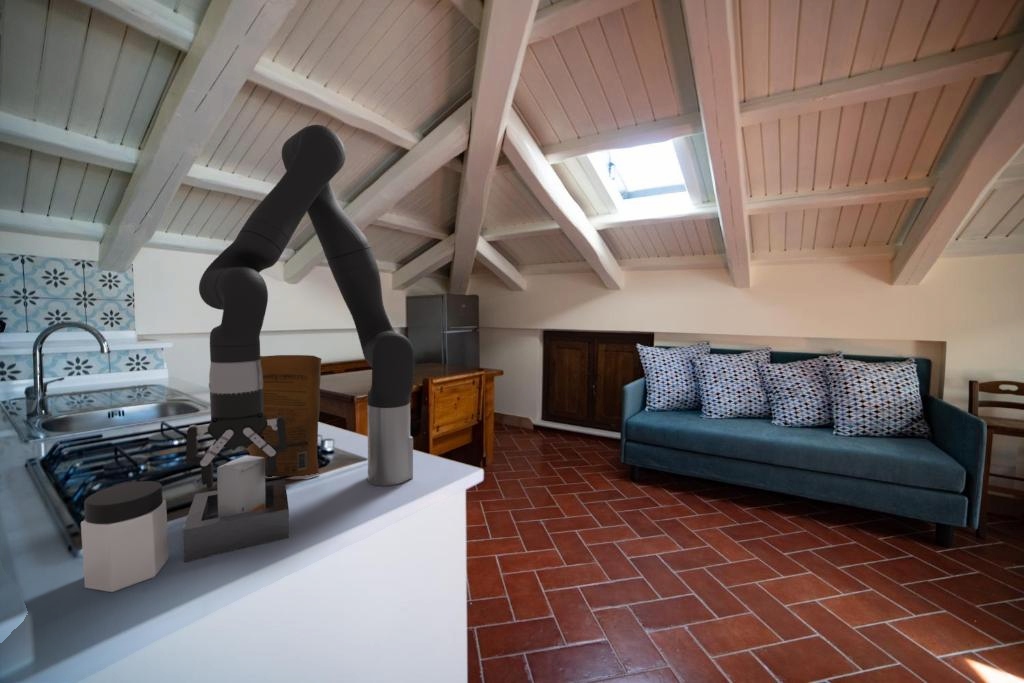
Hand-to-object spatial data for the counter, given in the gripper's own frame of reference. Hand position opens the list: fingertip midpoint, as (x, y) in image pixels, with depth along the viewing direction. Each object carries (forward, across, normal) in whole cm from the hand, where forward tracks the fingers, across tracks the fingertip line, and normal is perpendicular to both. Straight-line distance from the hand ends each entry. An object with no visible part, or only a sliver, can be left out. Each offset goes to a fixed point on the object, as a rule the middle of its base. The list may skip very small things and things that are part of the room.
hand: (240, 480), depth 72 cm
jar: (+9, +14, +6) cm, 17 cm away
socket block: (+9, 0, 0) cm, 9 cm away
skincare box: (+9, 0, 0) cm, 9 cm away
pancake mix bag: (+9, -7, -22) cm, 25 cm away
